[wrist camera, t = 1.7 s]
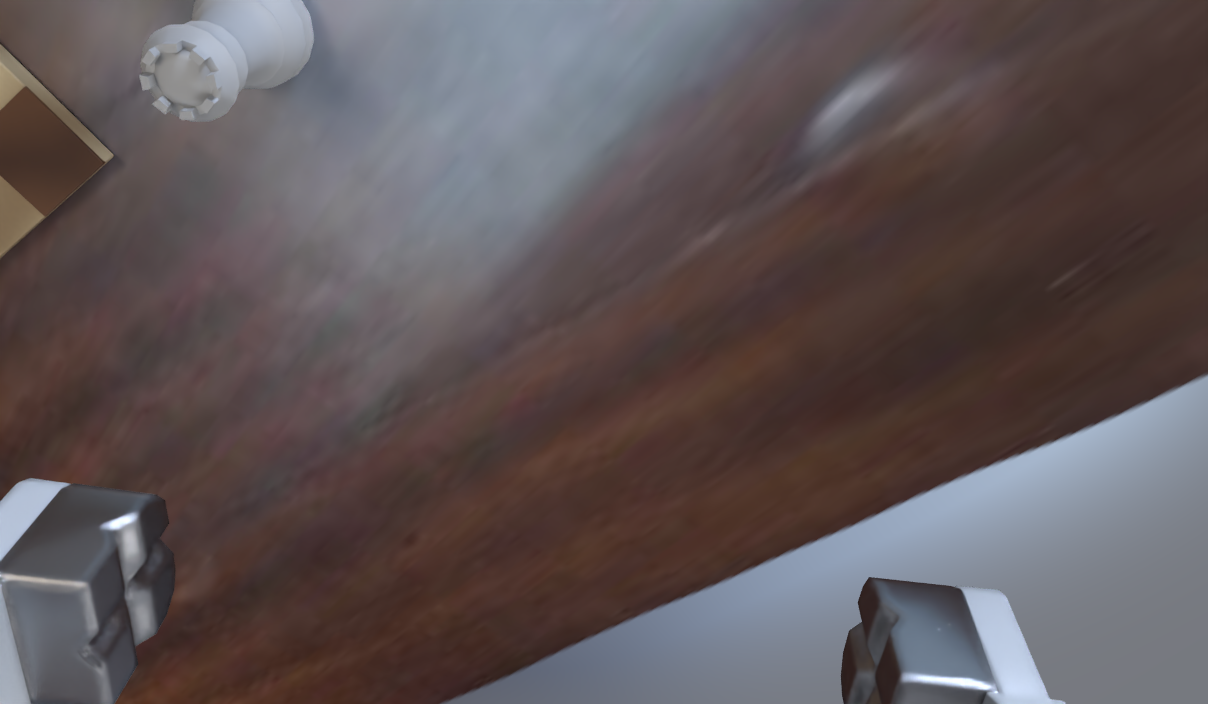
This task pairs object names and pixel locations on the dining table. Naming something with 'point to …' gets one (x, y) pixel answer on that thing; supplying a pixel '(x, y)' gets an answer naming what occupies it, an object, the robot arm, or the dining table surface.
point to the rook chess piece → (225, 55)
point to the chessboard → (38, 152)
